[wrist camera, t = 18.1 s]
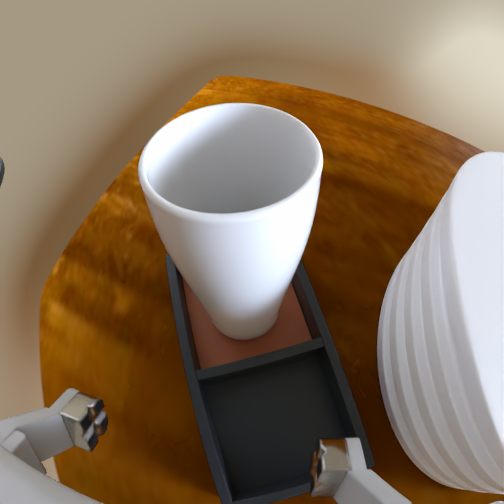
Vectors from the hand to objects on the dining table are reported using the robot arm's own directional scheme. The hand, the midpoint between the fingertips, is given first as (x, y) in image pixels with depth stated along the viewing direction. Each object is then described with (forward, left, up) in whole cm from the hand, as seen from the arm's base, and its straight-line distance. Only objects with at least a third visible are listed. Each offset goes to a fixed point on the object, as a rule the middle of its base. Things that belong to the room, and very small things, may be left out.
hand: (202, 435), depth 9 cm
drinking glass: (+3, +9, -10) cm, 14 cm away
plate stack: (+25, -3, -11) cm, 28 cm away
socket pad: (+3, +4, -11) cm, 12 cm away
